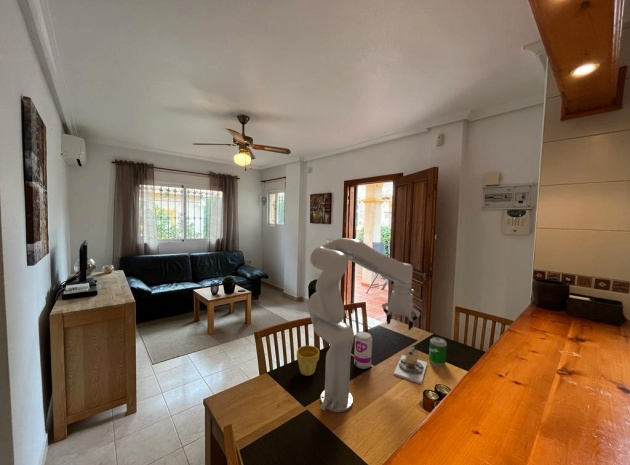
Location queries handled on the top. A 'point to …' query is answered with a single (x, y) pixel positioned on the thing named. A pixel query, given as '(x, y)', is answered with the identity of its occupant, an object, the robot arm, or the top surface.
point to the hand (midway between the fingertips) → (399, 326)
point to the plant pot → (307, 359)
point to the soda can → (437, 351)
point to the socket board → (411, 370)
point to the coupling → (411, 358)
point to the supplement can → (363, 350)
